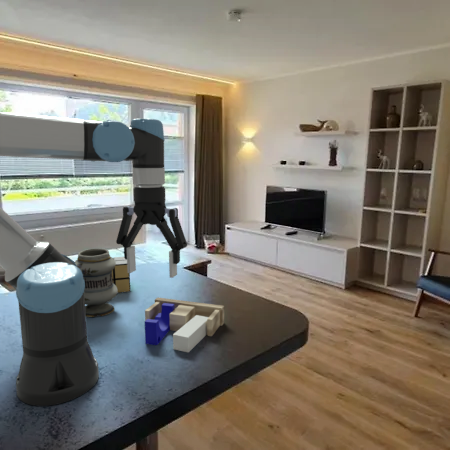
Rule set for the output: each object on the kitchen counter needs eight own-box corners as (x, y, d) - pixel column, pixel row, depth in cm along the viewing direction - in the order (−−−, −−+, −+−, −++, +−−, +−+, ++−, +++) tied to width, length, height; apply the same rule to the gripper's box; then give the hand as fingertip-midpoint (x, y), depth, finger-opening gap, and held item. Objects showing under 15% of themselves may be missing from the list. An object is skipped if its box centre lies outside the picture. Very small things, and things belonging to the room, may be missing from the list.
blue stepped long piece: (159, 323, 103) (158, 302, 102) (174, 324, 102) (174, 304, 101) (139, 343, 92) (138, 320, 91) (157, 346, 91) (156, 322, 90)
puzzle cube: (99, 285, 133) (98, 258, 131) (128, 282, 136) (127, 256, 134) (99, 295, 124) (97, 266, 122) (130, 292, 127) (129, 263, 125)
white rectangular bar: (188, 353, 88) (188, 337, 87) (173, 350, 89) (173, 334, 88) (210, 331, 99) (210, 317, 98) (196, 329, 100) (196, 315, 99)
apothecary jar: (77, 322, 103) (72, 259, 100) (73, 306, 114) (69, 249, 111) (121, 314, 109) (119, 254, 105) (114, 300, 119) (111, 245, 116)
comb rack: (214, 336, 95) (214, 318, 94) (143, 325, 101) (142, 308, 100) (224, 323, 103) (224, 305, 102) (158, 313, 109) (157, 297, 108)
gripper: (200, 186, 90) (201, 273, 94) (116, 183, 97) (120, 265, 101) (188, 188, 83) (189, 283, 87) (98, 185, 90) (103, 273, 94)
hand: (152, 273), depth 94 cm, fingers open, 11 cm apart
